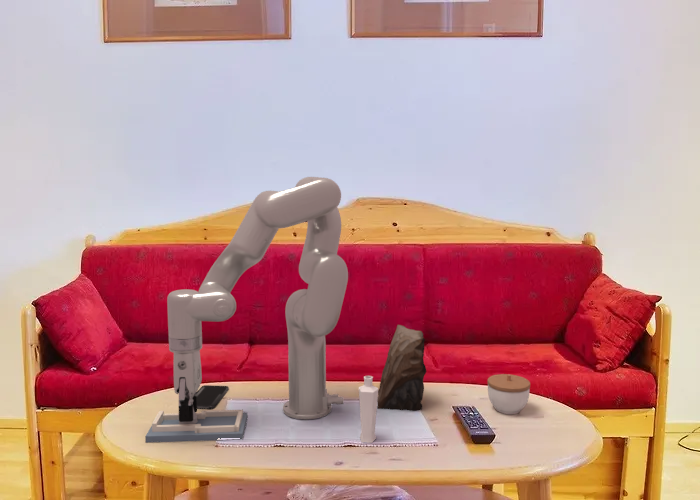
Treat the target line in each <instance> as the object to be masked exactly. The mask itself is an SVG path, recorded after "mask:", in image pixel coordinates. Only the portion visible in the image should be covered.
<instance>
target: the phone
mask: <svg viewBox="0 0 700 500" xmlns="http://www.w3.org/2000/svg"><path fill="white" fill-rule="evenodd" d="M228 392H229V386H228V385H206V384H205V385H201V386H200V387H199V388H198V390H197V392H196V396H197V410H205V411H209V410H215V408H216V407H218V404H219V403H220V402H221V401H222V399H223V398H224V397H225V395H226V394H227V393H228Z"/></svg>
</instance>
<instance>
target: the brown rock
mask: <svg viewBox="0 0 700 500" xmlns="http://www.w3.org/2000/svg"><path fill="white" fill-rule="evenodd" d="M391 339H392V340H391V342H390V345H389V348H388V352H387V356H386V360H385V364H384V368H383V369H382V373H381V377H380V378H381V379H380V383H379V388H378V399H377V410H389V411H390V410H391V411H393V410H394V411H395V410H396V411H410V412H418V411H422V410H423V403H422V401H423V399H424V393H425V386H424V385H425V384H424V378H425V375H426V373H427V368H426V365H425V363H424V362H425V361H424V356H425V340H426V339H425V337H424V333H423V331H422V330H415V329H412V328H411V329H410V328H407V327H406V326H405V325H402V324H397V326H396V329H395V332H394V334H393V336H392V338H391Z"/></svg>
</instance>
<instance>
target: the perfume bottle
mask: <svg viewBox="0 0 700 500" xmlns="http://www.w3.org/2000/svg"><path fill="white" fill-rule="evenodd" d="M373 378H374V376H372V375H365V376H363V380H364V381H363V385H361V386H358V395H359V396H358V398H359V399H358V400H359V415H360V429H361V430H360V431H361V432H360V436H359V440H360V439H361V440H360V442H361V443H364V442H367V443H366V444H372V443H374V442H375V441H376V440H377V436H376V421H377V412H378V411H377V410H378V409H377V406H378V402H377V400H378V390H379V388H378V386H375V385H374V384H373ZM375 439H376V440H375ZM374 440H375V441H374ZM373 441H374V442H373Z"/></svg>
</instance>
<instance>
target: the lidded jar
mask: <svg viewBox="0 0 700 500" xmlns="http://www.w3.org/2000/svg"><path fill="white" fill-rule="evenodd" d="M530 389H531V381H530V380H528V378H525V377H523V376H520V375H515V374H509V373H508V374H507V373H500V374H493V375H490V376H489V377H488V378H487V394H488V399H489V401H490V404H491V405H492V406H493V408H495V410H496V411H497V412H499V413H501V414H505V415H516V414H517V415H518V414H519V413H520V411H521V410H523V409H524V408H525V406H526V405H527V403H528V401H529V397H530Z"/></svg>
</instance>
